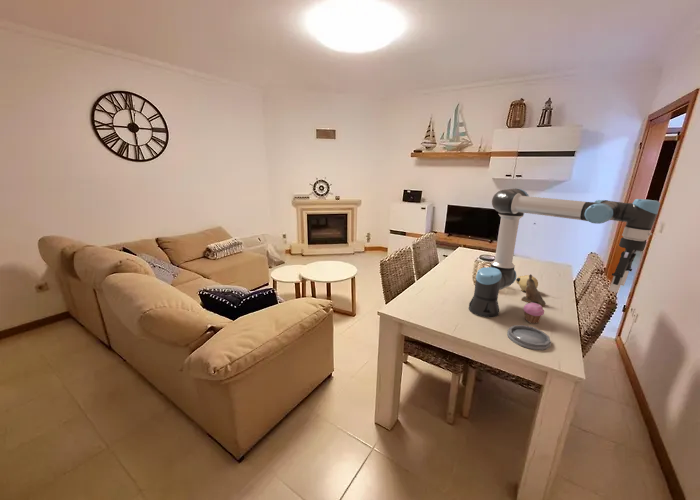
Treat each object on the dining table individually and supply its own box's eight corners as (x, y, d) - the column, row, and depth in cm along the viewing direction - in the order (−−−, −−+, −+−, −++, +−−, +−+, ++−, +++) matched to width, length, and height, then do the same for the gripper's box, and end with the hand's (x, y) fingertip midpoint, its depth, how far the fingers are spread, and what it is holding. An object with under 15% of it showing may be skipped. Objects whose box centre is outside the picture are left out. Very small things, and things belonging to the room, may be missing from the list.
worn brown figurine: (520, 304, 173) (518, 274, 171) (524, 301, 176) (522, 272, 174) (542, 307, 163) (541, 276, 161) (547, 305, 166) (545, 274, 164)
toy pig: (520, 285, 193) (523, 270, 190) (539, 292, 183) (542, 276, 180) (511, 288, 188) (514, 273, 185) (530, 295, 178) (534, 279, 175)
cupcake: (545, 325, 144) (549, 307, 142) (528, 326, 144) (532, 307, 141) (533, 316, 153) (536, 299, 150) (517, 317, 152) (520, 299, 150)
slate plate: (499, 336, 135) (500, 331, 135) (518, 325, 144) (519, 321, 144) (539, 355, 122) (540, 350, 121) (557, 342, 131) (558, 337, 130)
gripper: (642, 245, 105) (622, 298, 111) (651, 237, 121) (633, 284, 127) (615, 240, 111) (598, 291, 117) (627, 233, 126) (611, 279, 132)
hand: (616, 288), depth 122 cm, fingers open, 13 cm apart
